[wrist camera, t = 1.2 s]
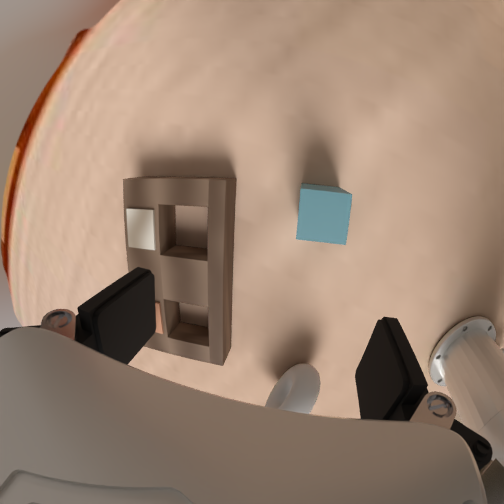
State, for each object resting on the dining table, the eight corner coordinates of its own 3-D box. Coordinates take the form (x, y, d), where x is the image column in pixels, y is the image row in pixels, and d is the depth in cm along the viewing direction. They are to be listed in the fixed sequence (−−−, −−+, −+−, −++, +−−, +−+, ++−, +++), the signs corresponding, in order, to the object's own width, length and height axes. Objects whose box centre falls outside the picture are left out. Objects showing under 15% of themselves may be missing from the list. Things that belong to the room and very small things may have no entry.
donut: (304, 344, 33) (300, 401, 24) (325, 355, 33) (327, 412, 24) (265, 386, 37) (252, 439, 27) (284, 396, 37) (275, 448, 27)
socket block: (236, 178, 29) (225, 180, 25) (231, 347, 35) (222, 367, 31) (142, 176, 31) (121, 179, 27) (153, 330, 37) (139, 346, 33)
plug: (339, 187, 27) (352, 194, 19) (335, 224, 28) (345, 244, 21) (301, 183, 28) (300, 188, 20) (298, 220, 29) (296, 239, 21)
